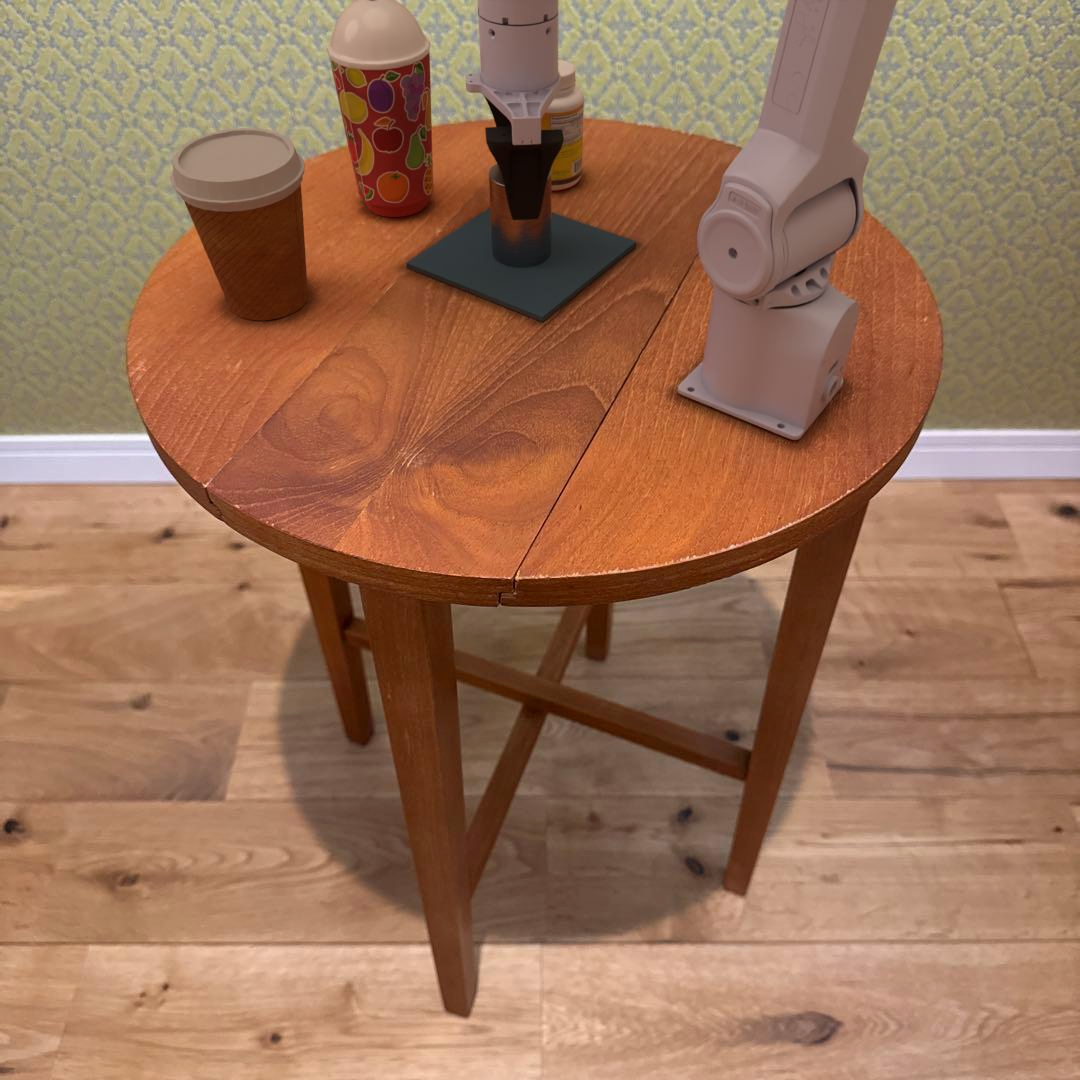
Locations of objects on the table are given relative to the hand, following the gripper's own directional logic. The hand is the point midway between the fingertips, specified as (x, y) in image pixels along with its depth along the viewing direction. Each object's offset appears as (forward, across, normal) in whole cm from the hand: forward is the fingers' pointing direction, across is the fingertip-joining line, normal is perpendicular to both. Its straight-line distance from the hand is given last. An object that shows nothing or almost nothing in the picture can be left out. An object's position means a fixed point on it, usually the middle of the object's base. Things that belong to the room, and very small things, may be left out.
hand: (522, 194), depth 78 cm
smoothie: (+6, -10, -11) cm, 16 cm away
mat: (+6, 0, 0) cm, 6 cm away
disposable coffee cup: (+6, +5, -21) cm, 22 cm away
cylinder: (+5, 0, 0) cm, 5 cm away
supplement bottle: (+6, -14, +4) cm, 15 cm away
